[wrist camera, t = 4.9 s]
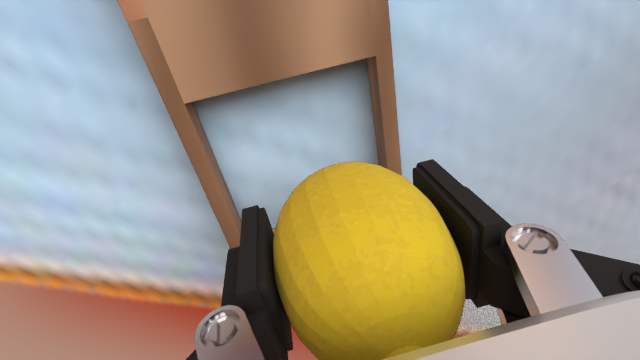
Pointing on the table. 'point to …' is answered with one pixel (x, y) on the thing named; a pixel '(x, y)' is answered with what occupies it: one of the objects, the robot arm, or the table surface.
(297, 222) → the lemon
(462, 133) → the table surface
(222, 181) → the wooden frame
